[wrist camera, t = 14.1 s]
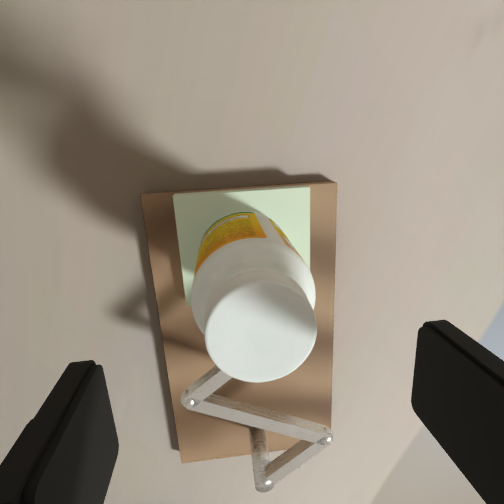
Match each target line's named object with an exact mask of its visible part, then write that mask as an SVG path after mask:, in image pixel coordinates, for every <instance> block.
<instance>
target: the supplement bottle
mask: <svg viewBox="0 0 504 504" xmlns="http://www.w3.org/2000/svg"><path fill="white" fill-rule="evenodd" d="M315 299H316V293H315V284H314V280H313V277H312V274H311V272H310V270H309V268H308V266H307V265H306V263H305V262H304V260H303V259H302V257H301V256H300V254H299V253H298V252H297V250H296V249H295V247H294V246H293V245H292V244H291V242H290V241H289V239H288V238H287V236H286V235H285V234H284V232H283V231H282V230H281V229H280V227H279V226H278V225H277V224H276V223H275V222H274V221H273V220H271V219H270V218H269V217H267V216H265V215H263V214H260V213H257V212H253V211H237V212H233V213H230V214H227V215H224V216H222V217H221V218H219V219H217V220H216V221H215V222H213V223H212V224H211V225H210V226H209V227H208V229H207V230H206V232H205V233H204V235H203V237H202V240H201V242H200V247H199V251H198V256H197V262H196V267H195V273H194V279H193V284H192V290H191V307H192V312H193V316H194V319H195V321H196V323H197V325H198V327H199V329H200V330H201V332H202V333H203V334H204V339H205V345H206V349H207V351H208V354H209V356H210V358H211V359H212V361H213V362H214V363H215V364H216V366H217V367H218V368H219V369H220V370H222V371H223V372H224V373H226V374H227V375H229V376H231V377H233V378H236V379H238V380H242V381H247V382H258V383H259V382H267V381H272V380H275V379H279V378H282V377H284V376H286V375H288V374H290V373H291V372H293V371H294V370H296V369H297V368H298V367H299V366H300V365H301V364H302V363H303V362H304V361H305V360H306V358H307V357H308V356H309V354H310V352H311V351H312V349H313V346H314V344H315V340H316V336H317V321H316V316H315V313H314V307H315Z"/></svg>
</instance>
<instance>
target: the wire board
mask: <svg viewBox="0 0 504 504" xmlns="http://www.w3.org/2000/svg"><path fill="white" fill-rule="evenodd" d="M298 185H307V186H309V187H310V272H311V274H312V277H313V280H314V284H315V293H316V299H315V307H314V313H315V316H316V321H317V336H316V340H315V344H314V346H313V349H312V351H311V352H310V354H309V356H308V357H307V358H306V360H305V361H304V362H303V363H302V364H301V365H300V366H299V367H298V368H297V369H296V370H294V371H293V372H291V373H290V374H288V375H286V376H284V377H282V378H279V379H275V380H272V381H267V382H259V383H258V382H247V381H242V380H238V379H236V378H233V377H232V378H231V379H230V380H229V381H227V382H226V383H225V384H223V385H222V386H221V387H220V388H218V389H217V390H216V391H214V392H213V393H212V394H215V395H219V396H222V397H226V398H230V399H233V400H237V401H240V402H244V403H247V404H251V405H255V406H258V407H262V408H265V409H269V410H272V411H276V412H280V413H283V414H287V415H290V416H294V417H297V418H301V419H305V420H308V421H312V422H315V423H319V424H322V425H326V427H328V428H330V429H331V404H332V366H333V328H334V290H335V253H336V215H337V183H336V182H333V181H326V182H311V183H296V184H280V185H265V186H250V187H235V188H220V189H204V190H189V191H174V192H159V193H144V194H142V195H141V203H142V209H143V216H144V222H145V229H146V235H147V242H148V248H149V255H150V261H151V268H152V274H153V281H154V287H155V294H156V300H157V307H158V313H159V320H160V326H161V333H162V339H163V346H164V352H165V359H166V365H167V372H168V378H169V385H170V391H171V398H172V404H173V411H174V417H175V424H176V431H177V437H178V444H179V450H180V457H181V463H188V462H196V461H204V460H211V459H219V458H226V457H234V456H241V455H249V454H251V447H250V439H249V430H248V425H245V424H241V423H237V422H234V421H230V420H226V419H222V418H219V417H215V416H211V415H207V414H203V413H200V412H196V411H192V410H188V409H187V408H186V407H184V406H183V405H182V404H181V400H180V399H181V395H182V393H183V392H184V391H185V389H186V388H188V387H189V386H190V385H191V384H193V383H194V382H195V381H196V380H198V379H199V378H200V377H201V376H203V375H204V374H205V373H207V372H208V371H209V370H210V369H212V368H213V367H214V366H215V365H216V364H215V363H214V362H213V361H212V359H211V358H210V356H209V354H208V351H207V349H206V345H205V339H204V334H203V333H202V332H201V330H200V329H199V327H198V325H197V323H196V321H195V319H194V316H193V312H192V307H191V306H187V307H186V299H185V291H184V283H183V275H182V267H181V259H180V251H179V243H178V235H177V227H176V219H175V211H174V203H173V195H174V194H177V193H192V192H207V191H222V190H237V189H253V188H268V187H283V186H298ZM265 435H266V441H267V447H268V452H272V451H279V450H287V449H290V448H291V447H292V446H294V445H295V444H296V443H298V442H299V441H301V440H302V439H298V438H294V437H290V436H286V435H283V434H279V433H275V432H271V431H268V430H265Z"/></svg>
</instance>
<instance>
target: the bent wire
mask: <svg viewBox="0 0 504 504" xmlns="http://www.w3.org/2000/svg"><path fill="white" fill-rule="evenodd" d="M231 378H232V377H231V376H229V375H227V374H226V373H224V372H223V371H222V370H220V369H219V368H218V367H217V366H216V365H215V366H214V367H213V368H212V369H210V370H209V371H208V372H207V373H205V374H204V375H203V376H201V377H200V378H199V379H198V380H196V381H195V382H194V383H193V384H191V385H190V386H189V387H188V388H186V389H185V391H184V392H183V393H182V395H181V399H180V400H181V404H182V405H183V406H184V407H186V408H187V409H188V410H192V411H196V412H200V413H203V414H207V415H211V416H215V417H219V418H222V419H226V420H230V421H234V422H237V423H241V424H245V425H248V430H249V439H250V447H251V455H252V464H253V472H254V480H255V488H256V490H257V491H259V492H268V491H270V490H271V489H272V488H273V487H274V484H276V483H277V482H278V481H280V480H281V479H283V478H284V477H285V476H287V475H288V474H290V473H291V472H292V471H294V470H295V469H297V468H298V467H299V466H301V465H302V464H304V463H305V462H306V461H308V460H309V459H311V458H312V457H313V456H315V455H316V454H318V453H319V452H320V451H322V450H323V449H325V448H326V447H327V446H329V445H330V443H331V442H332V440H333V433H332V431H331V429H330V428H328V427H326V425H322V424H319V423H315V422H312V421H308V420H305V419H301V418H297V417H294V416H290V415H287V414H283V413H280V412H276V411H272V410H269V409H265V408H262V407H258V406H255V405H251V404H247V403H244V402H240V401H237V400H233V399H230V398H226V397H222V396H219V395H215V394H212V393H213V392H214V391H216V390H217V389H218V388H220V387H221V386H222V385H223V384H225V383H226V382H227V381H229V380H230V379H231ZM265 430H268V431H271V432H275V433H279V434H283V435H286V436H290V437H294V438H298V439H302V440H301V441H299V442H298V443H296V444H295V445H294V446H292V447H291V448H290V449H288V450H287V451H285V452H284V453H283V454H281V455H280V456H279V457H277V458H276V459H274V460H273V461H272V462H270V458H269V452H268V447H267V441H266V435H265Z"/></svg>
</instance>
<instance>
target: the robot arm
mask: <svg viewBox="0 0 504 504" xmlns="http://www.w3.org/2000/svg"><path fill="white" fill-rule="evenodd" d="M411 403H412V407H413V410H414V412H415V413H416V415H417V416H418V417H419V418H420V420H421V421H422V422H423V424H424V425H425V426H426V427H427V429H428V430H429V431H430V432H431V434H432V435H433V436H434V437H435V439H436V440H437V441H438V443H439V444H440V445H441V446H442V448H443V449H444V450H445V451H446V453H447V454H448V455H449V456H450V458H451V459H452V460H453V462H454V463H455V464H456V466H457V467H458V468H459V469H460V471H461V472H462V473H463V474H464V475H465V477H466V478H467V480H468V481H469V482H470V483H471V485H472V486H473V487H474V488H475V490H476V491H477V492H478V493H479V495H480V496H481V497H482V499H483V500H484V501H485V502H486V504H504V361H503V360H501V359H500V358H499V357H497V356H496V355H494V354H493V353H492V352H490V351H489V350H487V349H486V348H485V347H483V346H482V345H480V344H479V343H478V342H476V341H475V340H473V339H472V338H471V337H469V336H468V335H466V334H465V333H464V332H462V331H461V330H459V329H458V328H457V327H455V326H454V325H453V324H451V323H450V322H448V321H446V320H438V321H429V322H425V323H424V324H423V327H421V328H420V329H419V330H418V338H417V348H416V358H415V368H414V377H413V387H412V397H411ZM118 447H119V444H118V437H117V433H116V428H115V423H114V418H113V414H112V409H111V404H110V400H109V395H108V390H107V386H106V381H105V376H104V372H103V368H102V366H101V365H96V363H95V362H94V361H93V360H89V361H80V362H72V363H70V364H69V365H68V366H67V368H66V369H65V371H64V373H63V374H62V376H61V377H60V379H59V380H58V382H57V383H56V385H55V386H54V388H53V390H52V391H51V393H50V394H49V396H48V397H47V399H46V400H45V402H44V403H43V405H42V407H41V408H40V410H39V411H38V413H37V414H36V416H35V417H34V419H32V420H31V421H30V422H29V423H28V424H27V425H26V427H25V428H24V430H23V431H22V433H21V434H20V436H19V438H18V439H17V441H16V442H15V444H14V445H13V447H12V448H11V450H10V451H9V453H8V454H7V456H6V457H5V459H4V460H3V462H2V463H1V465H0V504H103V503H104V500H105V496H106V493H107V489H108V486H109V483H110V479H111V476H112V473H113V469H114V466H115V462H116V459H117V455H118Z"/></svg>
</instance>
